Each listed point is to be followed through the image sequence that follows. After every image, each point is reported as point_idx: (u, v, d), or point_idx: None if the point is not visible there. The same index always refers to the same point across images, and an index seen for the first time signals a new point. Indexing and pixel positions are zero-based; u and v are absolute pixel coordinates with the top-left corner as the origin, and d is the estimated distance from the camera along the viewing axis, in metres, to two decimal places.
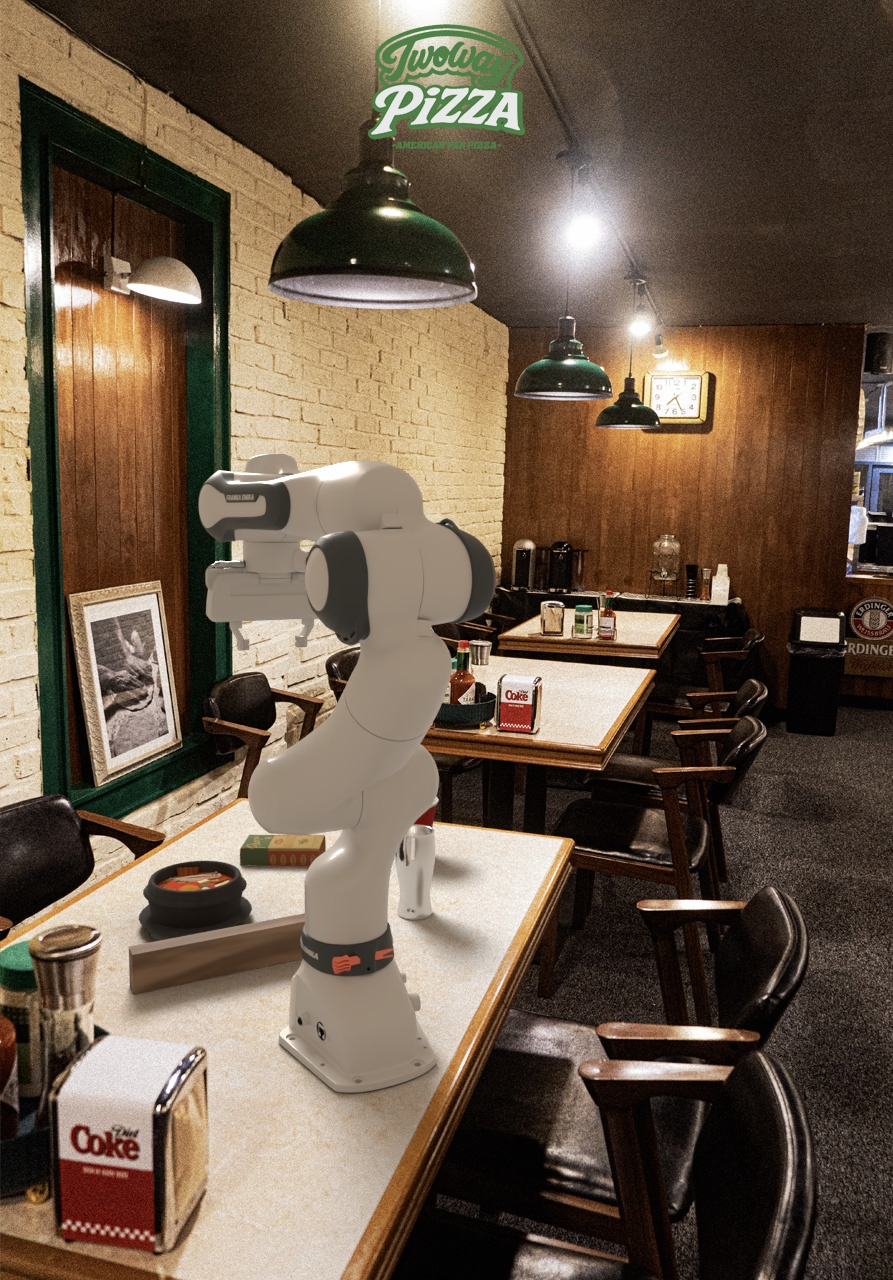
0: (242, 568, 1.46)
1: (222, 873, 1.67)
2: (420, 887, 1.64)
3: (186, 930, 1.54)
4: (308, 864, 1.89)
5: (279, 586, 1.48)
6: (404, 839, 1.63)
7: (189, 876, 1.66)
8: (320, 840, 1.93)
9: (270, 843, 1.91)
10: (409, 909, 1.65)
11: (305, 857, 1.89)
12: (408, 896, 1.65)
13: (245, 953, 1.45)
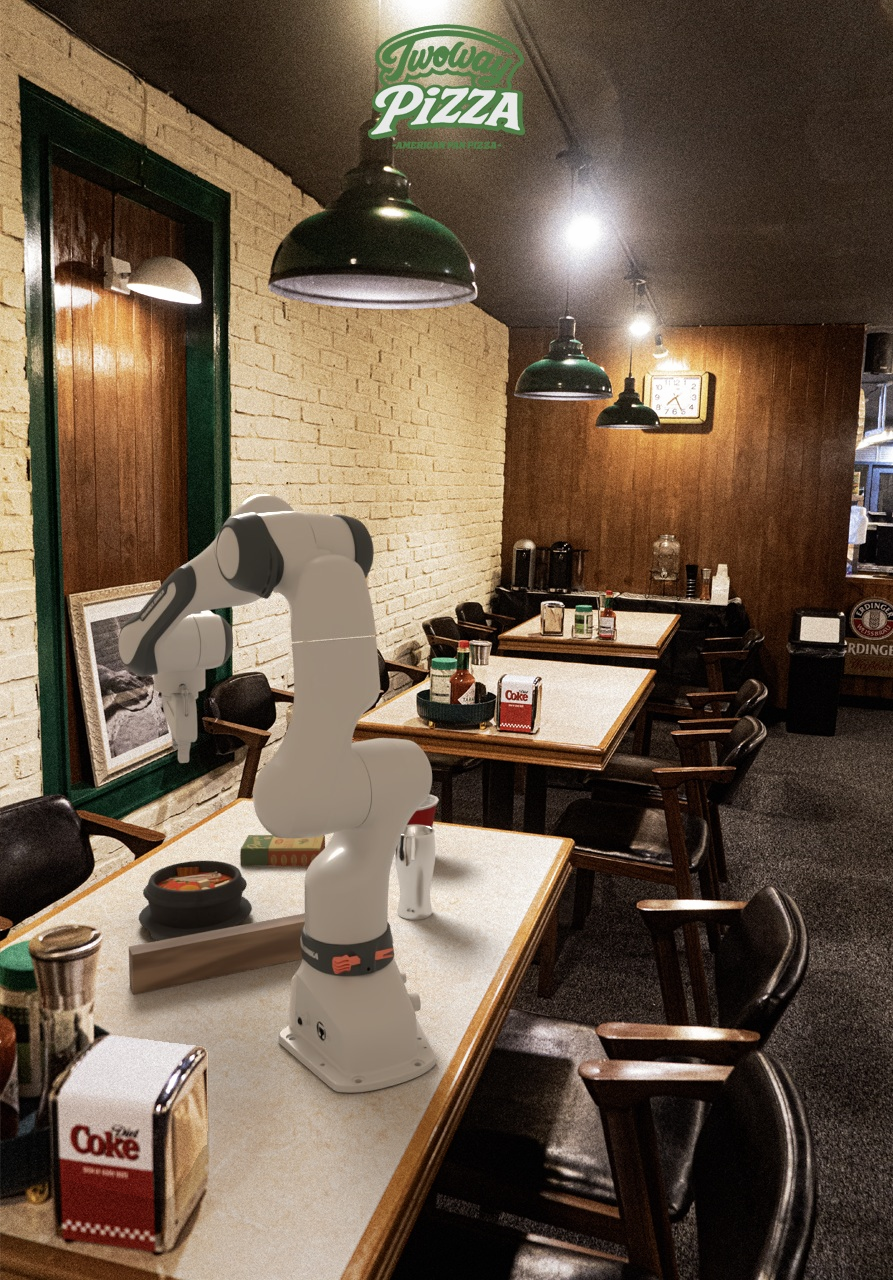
0: None
1: (222, 873, 1.67)
2: (420, 887, 1.64)
3: (186, 930, 1.54)
4: (309, 864, 1.89)
5: None
6: (404, 839, 1.63)
7: (189, 876, 1.66)
8: (320, 840, 1.94)
9: (270, 843, 1.91)
10: (409, 909, 1.65)
11: (306, 857, 1.89)
12: (408, 896, 1.65)
13: (245, 953, 1.45)
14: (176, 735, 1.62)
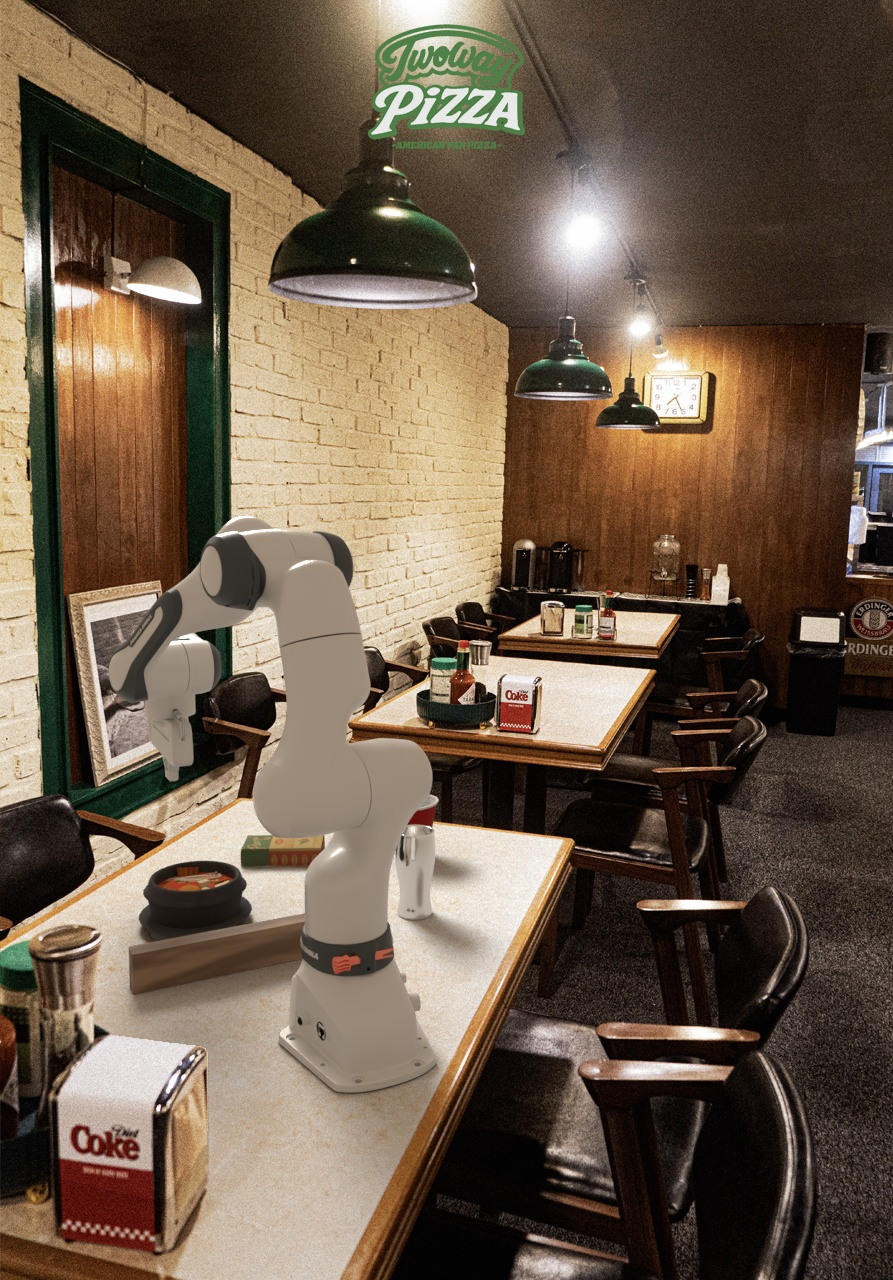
0: None
1: (222, 873, 1.67)
2: (420, 887, 1.64)
3: (186, 930, 1.54)
4: (309, 864, 1.90)
5: None
6: (404, 839, 1.63)
7: (189, 876, 1.66)
8: (320, 839, 1.94)
9: (271, 844, 1.91)
10: (409, 909, 1.65)
11: (306, 857, 1.89)
12: (408, 896, 1.65)
13: (245, 953, 1.45)
14: (173, 759, 1.65)
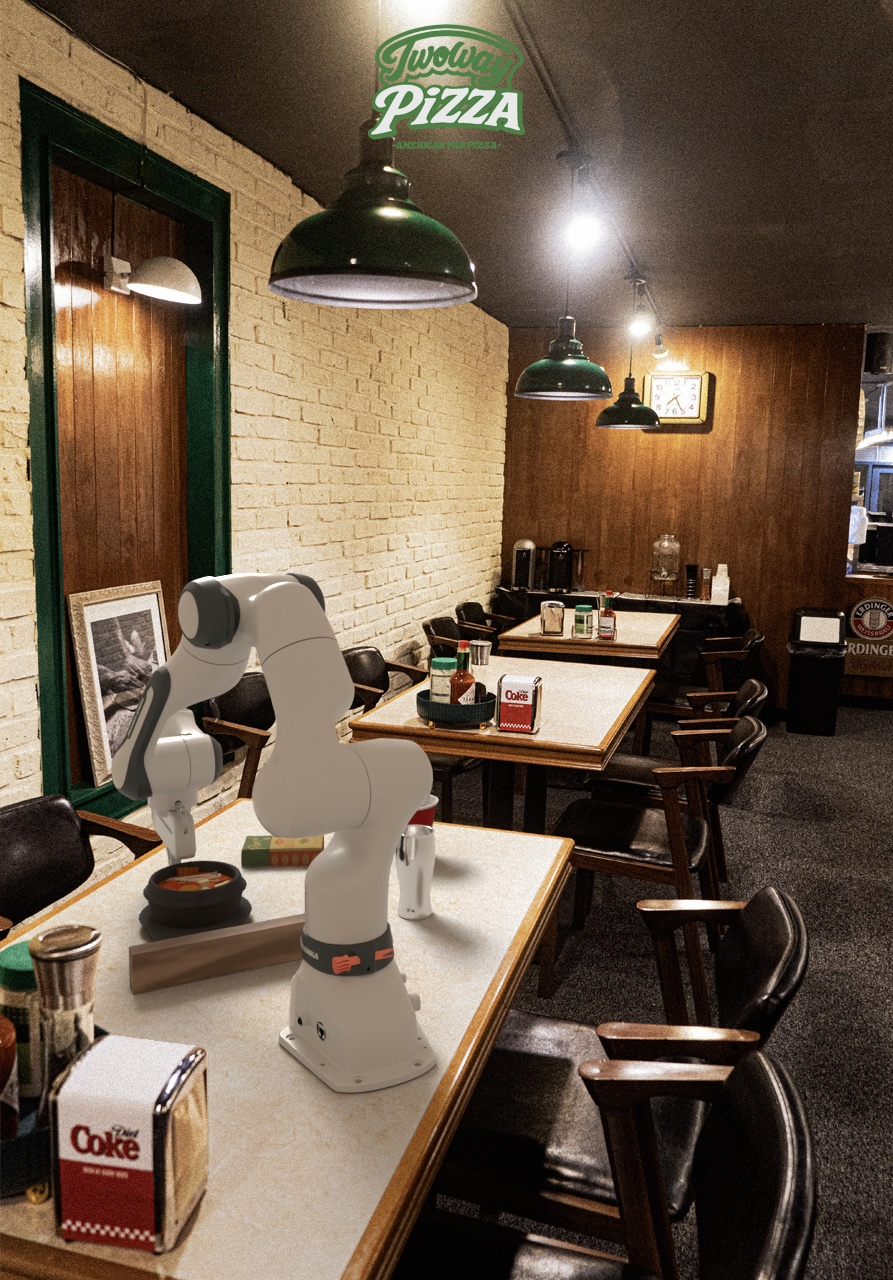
0: None
1: (222, 873, 1.67)
2: (420, 887, 1.64)
3: (186, 930, 1.54)
4: (310, 863, 1.90)
5: None
6: (404, 839, 1.63)
7: (189, 876, 1.66)
8: (320, 839, 1.94)
9: (271, 844, 1.91)
10: (409, 909, 1.65)
11: (307, 857, 1.89)
12: (408, 896, 1.65)
13: (245, 953, 1.45)
14: (176, 853, 1.67)
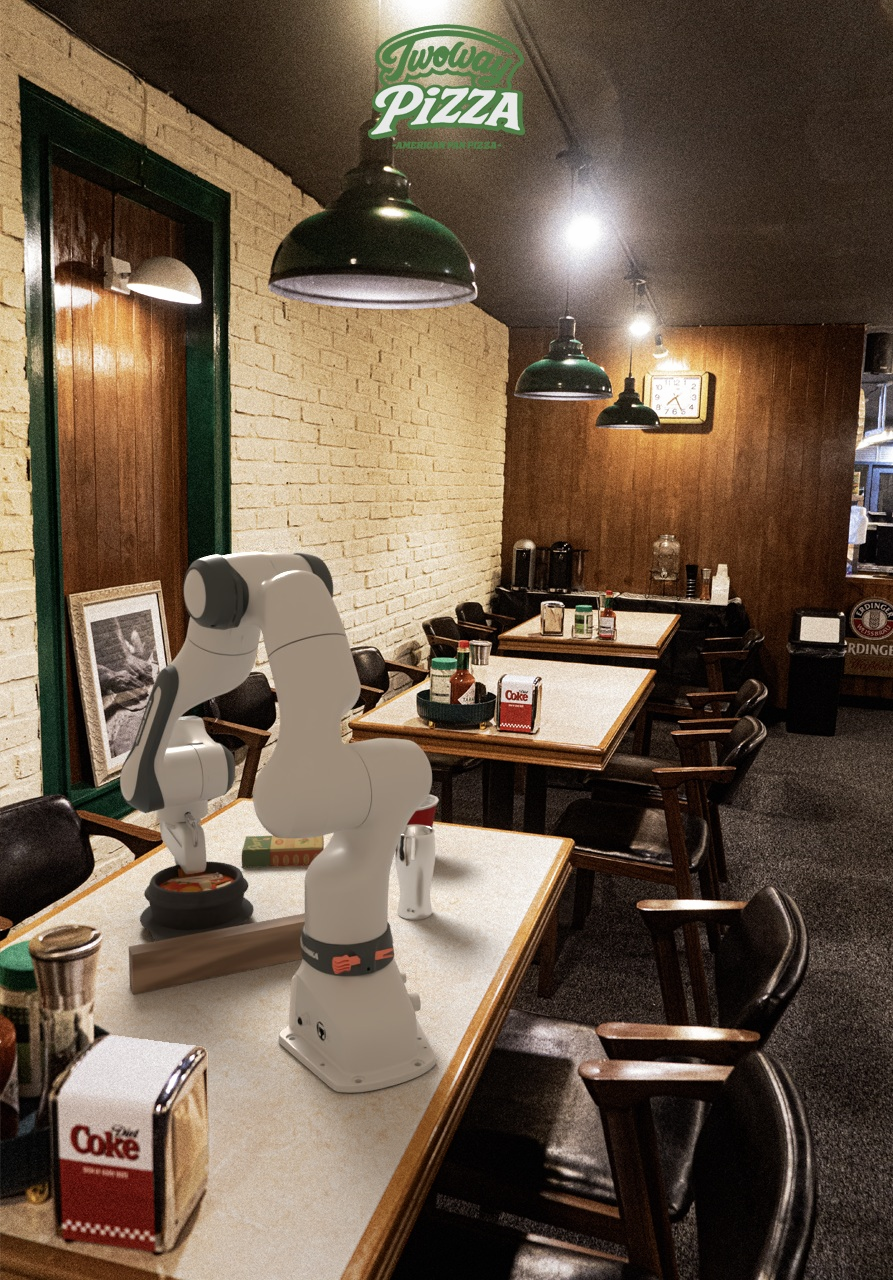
0: None
1: (223, 874, 1.67)
2: (420, 887, 1.64)
3: (188, 931, 1.54)
4: None
5: None
6: (404, 839, 1.63)
7: (190, 877, 1.65)
8: (320, 839, 1.94)
9: (271, 844, 1.91)
10: (409, 909, 1.65)
11: (308, 856, 1.90)
12: (408, 896, 1.65)
13: (245, 953, 1.45)
14: (186, 867, 1.60)
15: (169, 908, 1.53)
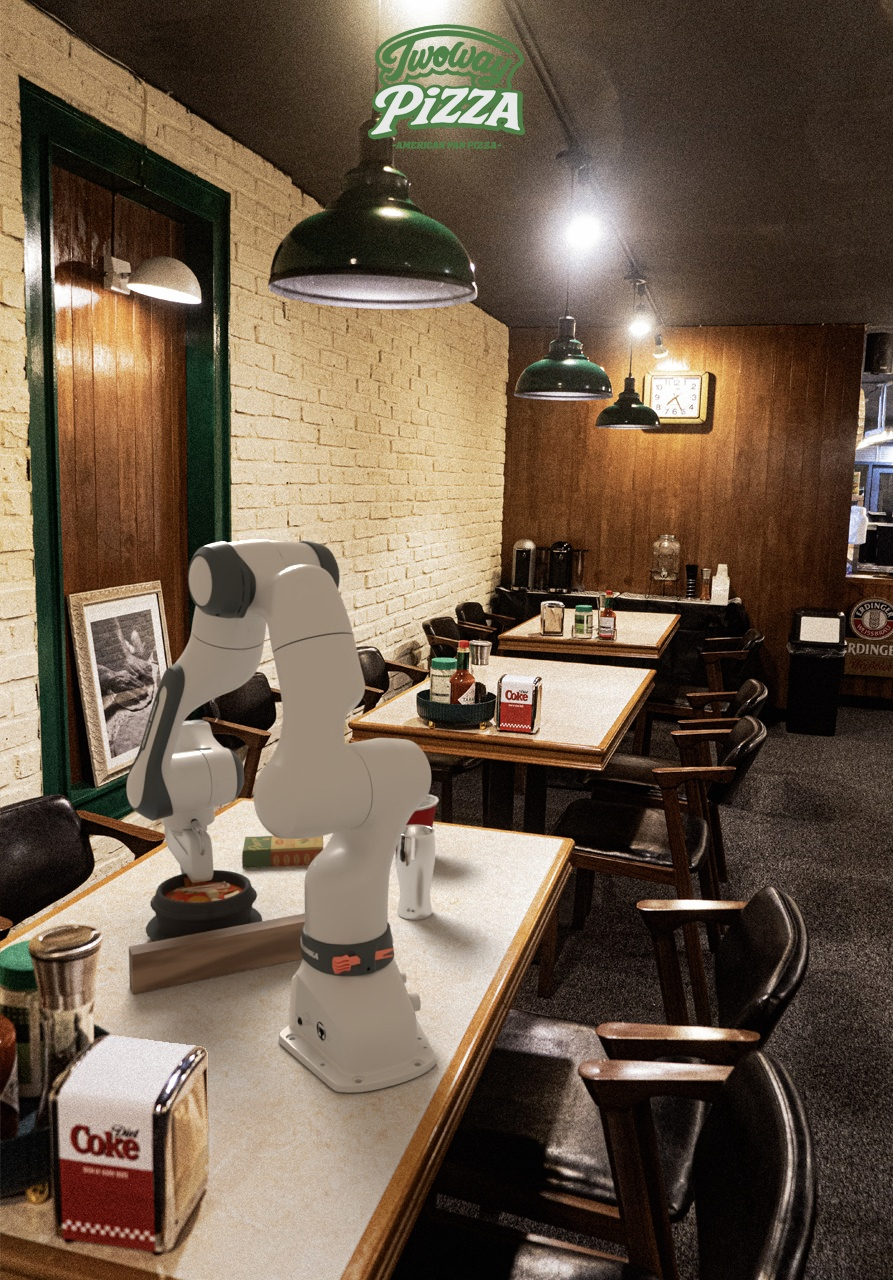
0: None
1: (230, 883, 1.63)
2: (420, 887, 1.64)
3: None
4: None
5: None
6: (404, 839, 1.63)
7: (197, 886, 1.61)
8: (320, 839, 1.94)
9: (271, 844, 1.91)
10: (409, 909, 1.65)
11: (309, 856, 1.90)
12: (408, 896, 1.65)
13: (245, 953, 1.45)
14: (192, 875, 1.56)
15: (177, 919, 1.49)
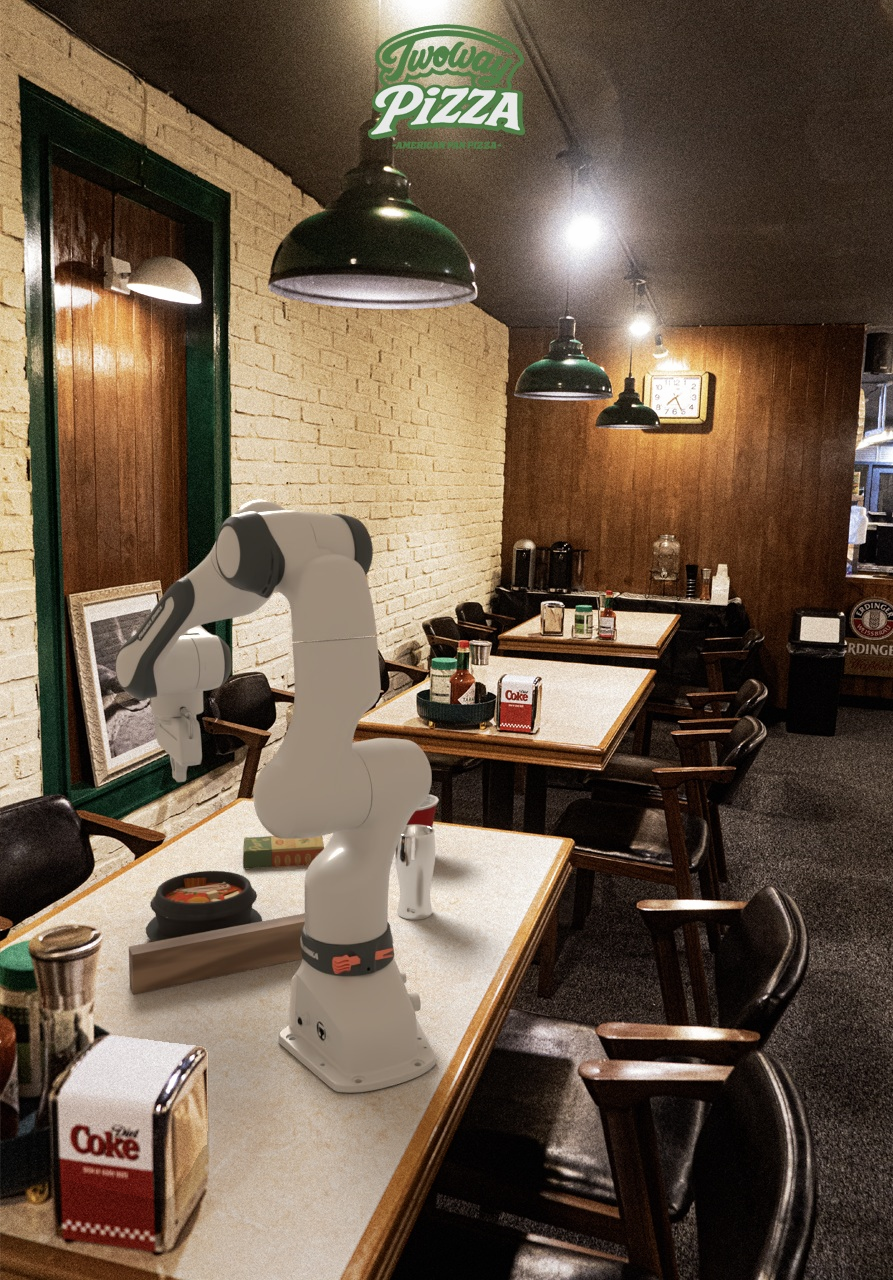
0: None
1: (230, 884, 1.63)
2: (420, 887, 1.64)
3: None
4: None
5: None
6: (404, 839, 1.63)
7: (197, 887, 1.61)
8: (320, 838, 1.95)
9: (272, 845, 1.90)
10: (409, 909, 1.65)
11: (310, 856, 1.90)
12: (408, 896, 1.65)
13: (245, 953, 1.45)
14: (181, 758, 1.59)
15: (177, 920, 1.49)
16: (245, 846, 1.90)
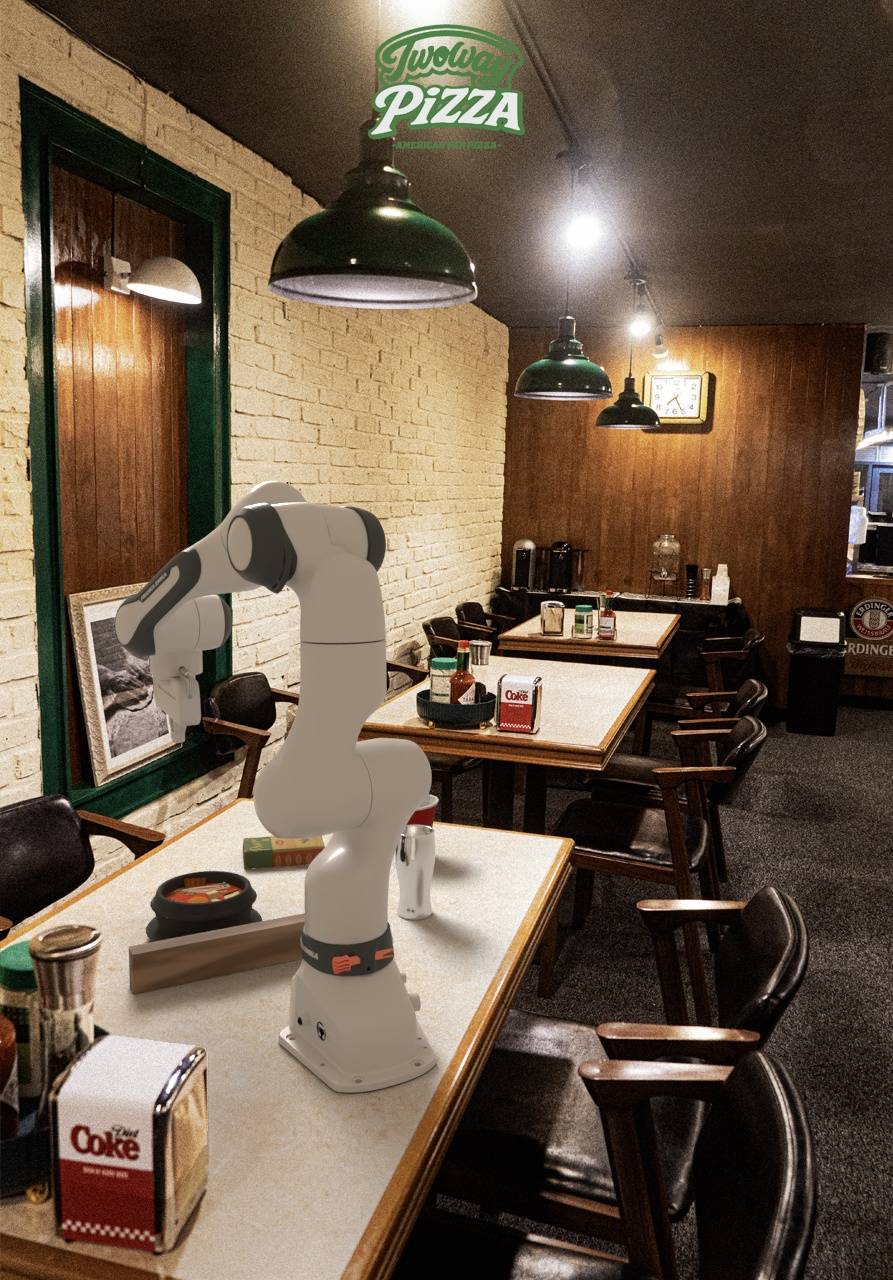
0: None
1: (230, 884, 1.63)
2: (420, 887, 1.64)
3: None
4: None
5: None
6: (404, 839, 1.63)
7: (197, 887, 1.61)
8: (320, 838, 1.95)
9: (272, 845, 1.90)
10: (409, 909, 1.65)
11: (310, 855, 1.90)
12: (408, 896, 1.65)
13: (245, 953, 1.45)
14: (180, 718, 1.58)
15: (177, 920, 1.49)
16: (245, 847, 1.89)
